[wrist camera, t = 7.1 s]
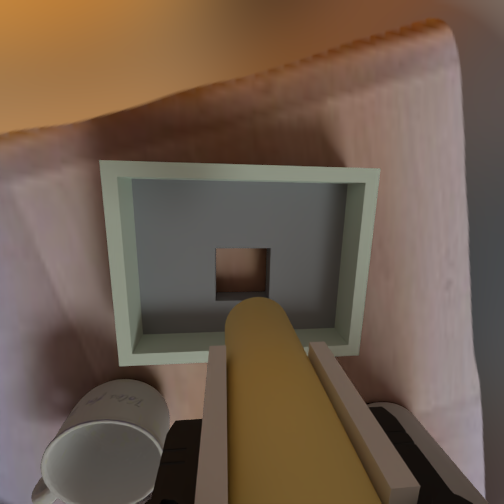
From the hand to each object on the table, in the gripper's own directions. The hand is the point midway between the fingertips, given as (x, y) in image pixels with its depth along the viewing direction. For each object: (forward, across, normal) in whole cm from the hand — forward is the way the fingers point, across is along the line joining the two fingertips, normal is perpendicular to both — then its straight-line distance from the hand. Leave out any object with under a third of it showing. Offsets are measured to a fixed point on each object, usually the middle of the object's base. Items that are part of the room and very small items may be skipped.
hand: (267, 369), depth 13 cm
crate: (+18, 0, +1) cm, 18 cm away
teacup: (+18, -15, -18) cm, 29 cm away
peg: (+4, 0, 0) cm, 4 cm away
